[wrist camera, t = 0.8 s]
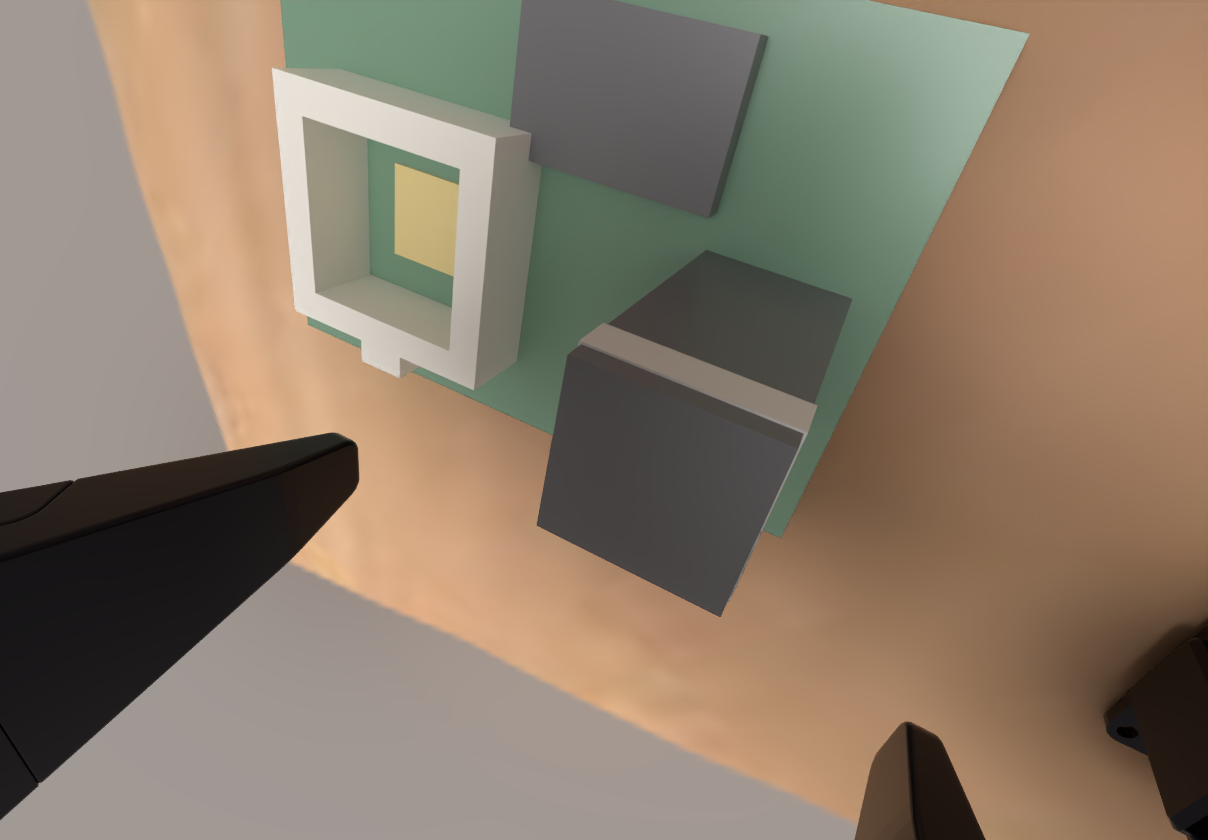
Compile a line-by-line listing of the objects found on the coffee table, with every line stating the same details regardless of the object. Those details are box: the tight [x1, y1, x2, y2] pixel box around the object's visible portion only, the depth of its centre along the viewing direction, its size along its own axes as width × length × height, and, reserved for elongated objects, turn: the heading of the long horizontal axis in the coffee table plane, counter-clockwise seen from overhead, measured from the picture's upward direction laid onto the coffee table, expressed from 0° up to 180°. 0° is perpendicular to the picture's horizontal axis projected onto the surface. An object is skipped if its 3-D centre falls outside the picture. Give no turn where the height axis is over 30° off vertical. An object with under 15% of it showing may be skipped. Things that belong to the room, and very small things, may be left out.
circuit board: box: [272, 0, 1029, 538], centre depth 18 cm, size 20×14×4 cm
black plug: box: [537, 250, 852, 617], centre depth 14 cm, size 4×4×8 cm
